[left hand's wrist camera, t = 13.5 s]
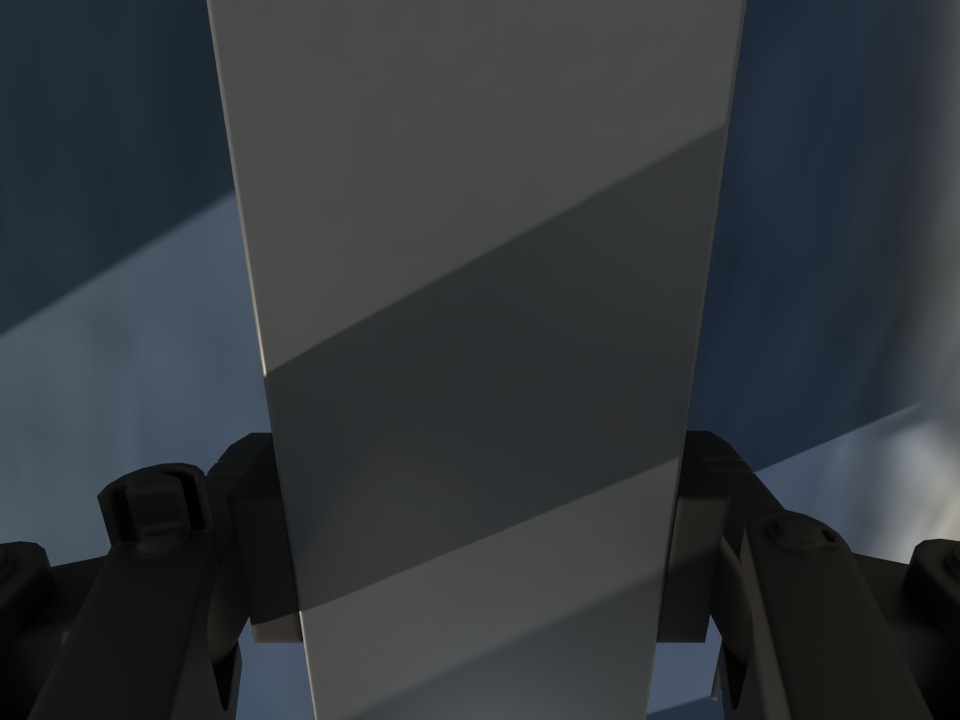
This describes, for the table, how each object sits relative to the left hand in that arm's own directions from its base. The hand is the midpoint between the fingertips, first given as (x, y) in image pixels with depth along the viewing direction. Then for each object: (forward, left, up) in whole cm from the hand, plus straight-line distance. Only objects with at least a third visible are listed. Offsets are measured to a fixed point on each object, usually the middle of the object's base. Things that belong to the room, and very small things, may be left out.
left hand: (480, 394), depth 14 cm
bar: (+28, +6, -1) cm, 29 cm away
